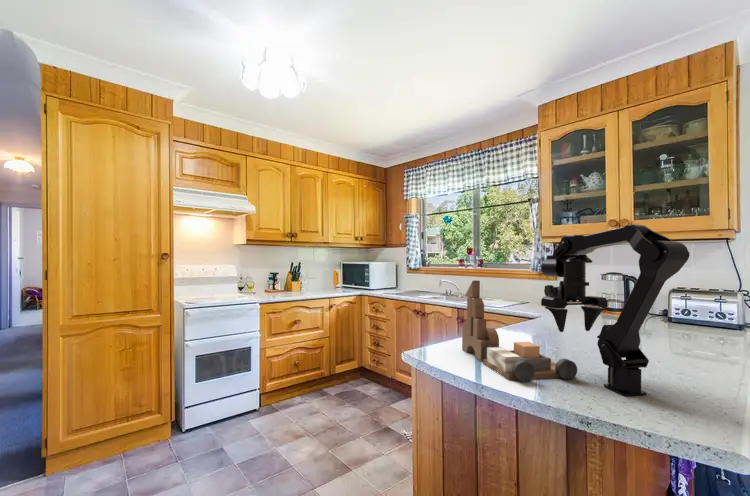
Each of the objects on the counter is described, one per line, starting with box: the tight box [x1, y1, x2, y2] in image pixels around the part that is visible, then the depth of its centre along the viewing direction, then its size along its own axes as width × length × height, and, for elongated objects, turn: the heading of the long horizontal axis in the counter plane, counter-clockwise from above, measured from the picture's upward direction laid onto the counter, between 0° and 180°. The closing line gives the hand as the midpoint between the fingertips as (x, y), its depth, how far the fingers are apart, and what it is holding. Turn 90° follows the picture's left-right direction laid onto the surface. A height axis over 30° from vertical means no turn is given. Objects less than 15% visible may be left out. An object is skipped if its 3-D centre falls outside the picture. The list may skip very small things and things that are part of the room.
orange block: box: [513, 341, 541, 359], centre depth 102 cm, size 5×5×6 cm
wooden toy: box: [461, 280, 500, 362], centre depth 118 cm, size 16×7×25 cm, turn 11°
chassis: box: [482, 345, 578, 383], centre depth 102 cm, size 18×20×6 cm
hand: (574, 331), depth 102 cm, fingers open, 9 cm apart
